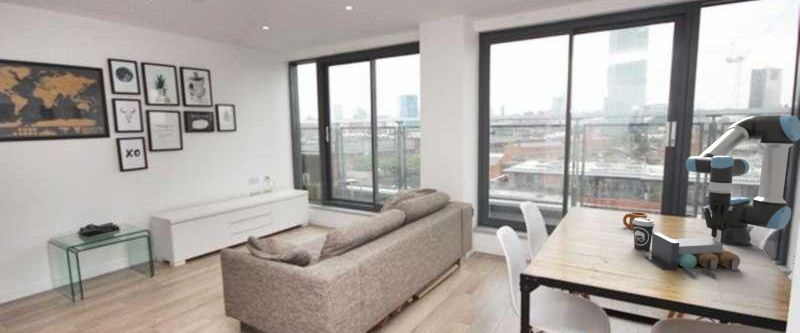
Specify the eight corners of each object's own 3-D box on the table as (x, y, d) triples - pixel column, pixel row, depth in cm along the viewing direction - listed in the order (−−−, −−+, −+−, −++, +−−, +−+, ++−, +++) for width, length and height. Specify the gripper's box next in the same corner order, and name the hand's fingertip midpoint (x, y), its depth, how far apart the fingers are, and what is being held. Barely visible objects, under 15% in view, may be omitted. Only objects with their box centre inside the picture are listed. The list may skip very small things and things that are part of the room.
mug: (625, 225, 240) (625, 210, 239) (647, 228, 232) (648, 213, 231) (621, 227, 234) (622, 213, 233) (644, 231, 226) (645, 216, 225)
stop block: (657, 257, 184) (659, 232, 183) (677, 269, 169) (679, 242, 168) (644, 257, 185) (645, 232, 183) (663, 269, 170) (664, 242, 168)
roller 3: (700, 257, 182) (702, 243, 181) (715, 258, 182) (718, 244, 181) (723, 268, 168) (725, 253, 167) (739, 270, 167) (742, 255, 167)
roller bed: (711, 257, 183) (712, 246, 183) (755, 278, 158) (756, 267, 158) (658, 256, 185) (659, 246, 184) (693, 278, 160) (694, 266, 160)
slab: (706, 244, 179) (706, 237, 179) (722, 252, 169) (722, 244, 169) (664, 247, 181) (664, 239, 180) (678, 254, 171) (678, 246, 170)
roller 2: (681, 257, 183) (683, 243, 182) (696, 258, 182) (698, 244, 182) (702, 268, 169) (704, 253, 168) (718, 269, 168) (721, 254, 167)
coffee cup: (656, 252, 191) (658, 222, 189) (635, 251, 193) (636, 221, 191) (648, 246, 200) (650, 217, 198) (628, 245, 202) (629, 217, 200)
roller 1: (668, 261, 182) (663, 248, 182) (682, 256, 181) (677, 244, 181) (683, 270, 171) (679, 257, 170) (698, 265, 170) (694, 252, 169)
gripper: (729, 189, 174) (725, 241, 177) (698, 190, 175) (695, 241, 178) (742, 193, 167) (738, 247, 170) (710, 193, 168) (706, 247, 171)
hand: (716, 244), depth 174 cm, fingers closed
